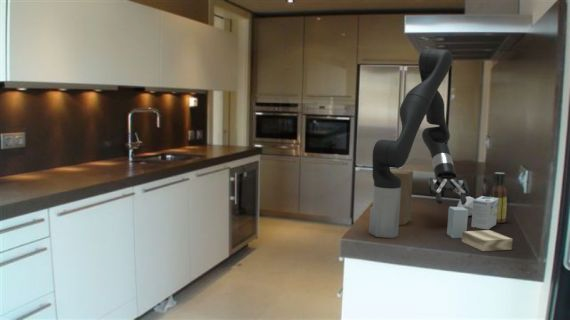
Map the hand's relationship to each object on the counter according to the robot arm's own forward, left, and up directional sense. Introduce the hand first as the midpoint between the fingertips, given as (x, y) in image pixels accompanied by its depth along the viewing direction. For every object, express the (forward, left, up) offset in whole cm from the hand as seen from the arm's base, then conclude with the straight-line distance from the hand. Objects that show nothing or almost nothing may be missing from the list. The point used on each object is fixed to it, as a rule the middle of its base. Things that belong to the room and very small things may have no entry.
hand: (452, 203), depth 179 cm
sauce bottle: (+28, +10, -11) cm, 32 cm away
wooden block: (-14, +17, -11) cm, 24 cm away
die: (+23, +22, -11) cm, 34 cm away
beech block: (+1, -18, -10) cm, 21 cm away
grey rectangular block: (-2, -6, -10) cm, 12 cm away
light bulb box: (+18, +5, -11) cm, 22 cm away
